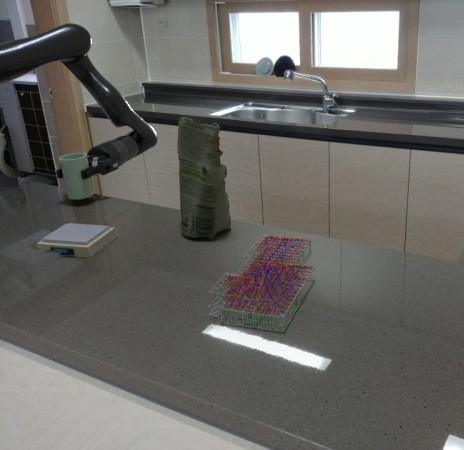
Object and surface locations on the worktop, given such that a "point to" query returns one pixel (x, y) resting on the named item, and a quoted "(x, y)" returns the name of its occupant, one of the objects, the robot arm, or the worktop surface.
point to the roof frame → (261, 284)
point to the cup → (76, 176)
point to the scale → (78, 239)
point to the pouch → (201, 180)
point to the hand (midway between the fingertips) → (70, 175)
